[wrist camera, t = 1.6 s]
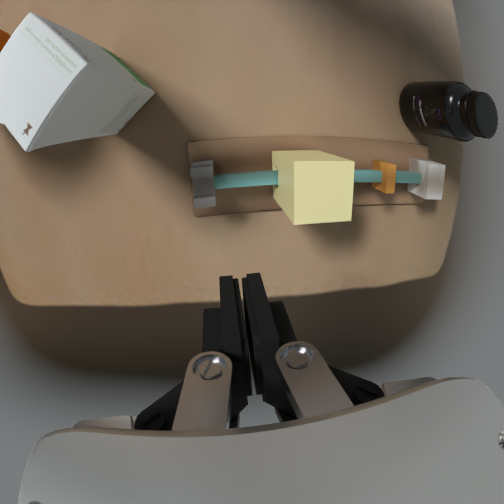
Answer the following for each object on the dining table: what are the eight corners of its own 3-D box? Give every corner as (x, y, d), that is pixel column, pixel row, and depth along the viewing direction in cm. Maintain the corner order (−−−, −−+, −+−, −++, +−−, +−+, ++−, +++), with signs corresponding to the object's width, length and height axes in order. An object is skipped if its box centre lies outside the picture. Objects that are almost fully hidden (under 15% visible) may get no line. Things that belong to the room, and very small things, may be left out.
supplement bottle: (388, 107, 26) (460, 111, 16) (410, 72, 24) (480, 67, 13) (421, 143, 29) (489, 161, 18) (440, 108, 26) (507, 117, 16)
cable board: (187, 142, 26) (181, 145, 22) (427, 145, 29) (450, 151, 25) (194, 215, 30) (191, 231, 25) (422, 202, 32) (443, 213, 28)
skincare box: (157, 93, 23) (96, 64, 9) (114, 139, 25) (27, 160, 11) (110, 49, 20) (31, 6, 6) (70, 95, 21) (-26, 90, 7)
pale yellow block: (271, 150, 27) (293, 161, 19) (317, 150, 27) (354, 161, 20) (273, 197, 29) (293, 224, 21) (317, 194, 29) (350, 220, 22)
